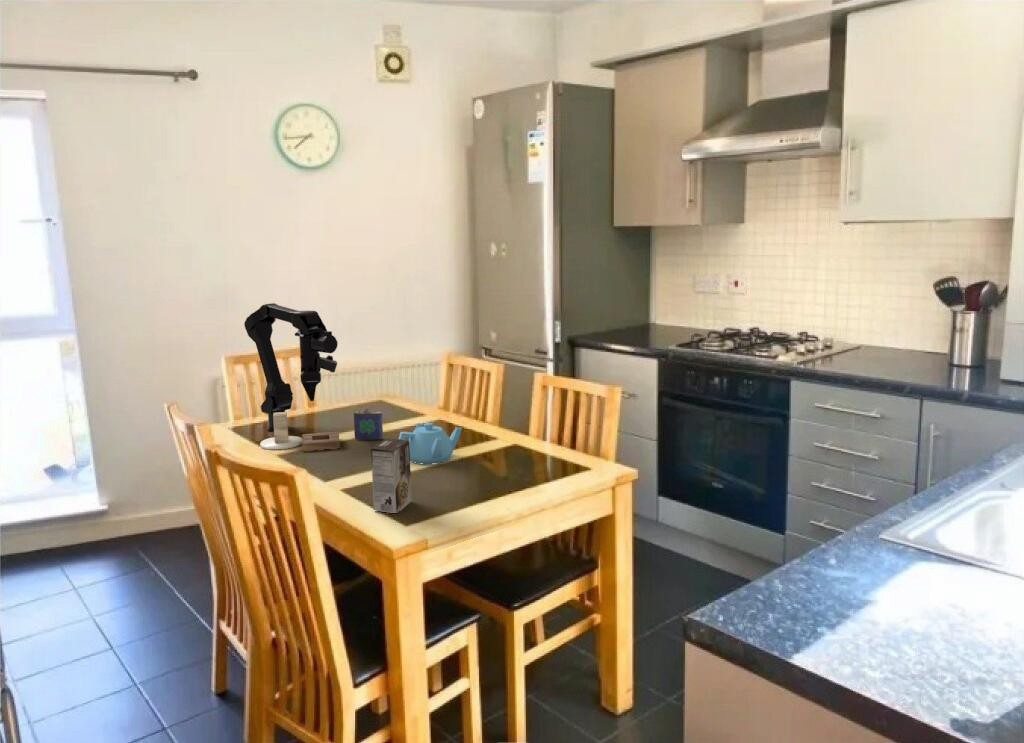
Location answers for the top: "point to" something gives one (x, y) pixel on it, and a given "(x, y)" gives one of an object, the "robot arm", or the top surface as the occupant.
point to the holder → (320, 441)
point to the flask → (368, 425)
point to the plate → (291, 443)
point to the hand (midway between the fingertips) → (312, 397)
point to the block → (280, 427)
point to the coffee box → (391, 475)
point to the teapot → (430, 443)
